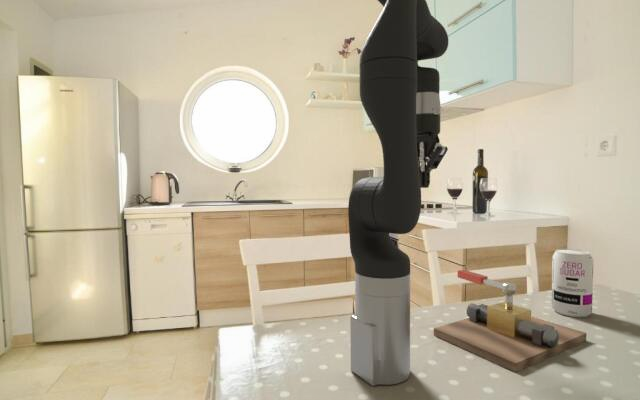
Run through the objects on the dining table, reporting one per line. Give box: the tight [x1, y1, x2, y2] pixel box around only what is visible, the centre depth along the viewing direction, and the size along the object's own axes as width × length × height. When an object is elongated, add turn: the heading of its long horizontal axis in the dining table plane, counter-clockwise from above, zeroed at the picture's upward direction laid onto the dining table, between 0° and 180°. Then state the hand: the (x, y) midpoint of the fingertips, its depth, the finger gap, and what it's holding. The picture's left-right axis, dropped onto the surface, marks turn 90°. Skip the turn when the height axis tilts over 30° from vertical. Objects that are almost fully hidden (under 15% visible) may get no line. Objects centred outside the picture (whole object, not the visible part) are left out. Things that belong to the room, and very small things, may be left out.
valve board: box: [433, 315, 587, 373], centre depth 77 cm, size 24×18×2 cm
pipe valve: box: [466, 293, 559, 347], centre depth 77 cm, size 6×18×9 cm, turn 31°
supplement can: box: [551, 248, 594, 318], centre depth 92 cm, size 8×8×15 cm
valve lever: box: [457, 269, 517, 295], centre depth 83 cm, size 15×3×2 cm, turn 23°
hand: (423, 187), depth 90 cm, fingers closed
